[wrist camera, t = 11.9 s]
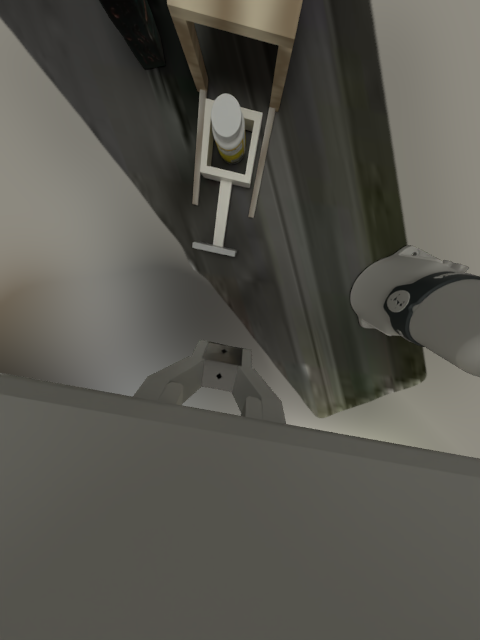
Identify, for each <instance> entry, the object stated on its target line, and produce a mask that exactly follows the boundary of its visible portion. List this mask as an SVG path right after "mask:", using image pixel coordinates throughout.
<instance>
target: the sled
mask: <svg viewBox="0 0 480 640" xmlns="http://www.w3.org/2000/svg"><path fill="white" fill-rule="evenodd" d="M213 103H214V100H210V99H206V100H205V113H204V126H203V139H202V152H201V165H200V173H201V174H202V175H203V177H204V178H208V179H212V180H216V181H220V191H219V199H218V207H217V216H216V224H215V232H214V241H213V244H209V243H205V242H193V247H192V248H196V249H201V250H205V251H210V252H215V253H219V254H224V255H228V256H233V257H235V256H236V254H237V250H236V249H232V248H227V247H223V246H224V239H225V232H226V226H227V219H228V212H229V205H230V198H231V191H232V184H233V185H237V186H242V187H246V188H250V184H251V179H252V173H253V168H254V162H255V157H256V151H257V146H258V141H259V135H260V130H261V123H262V114H263V113H261V112H257V111H253V110H249V109H246V108H242V107H240V108H241V112H242V114H243V116H244V120H245V130H248V131H252V138H251V144H250V149H249V155H248V161H247V167H246V173H245V175H244V174H239V173H235V172H231V171H227V170H223V169H219V168H214V167H211V161H212V150H213V140H214V136H213V132H212V121H211V109H212V106H213Z"/></svg>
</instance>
